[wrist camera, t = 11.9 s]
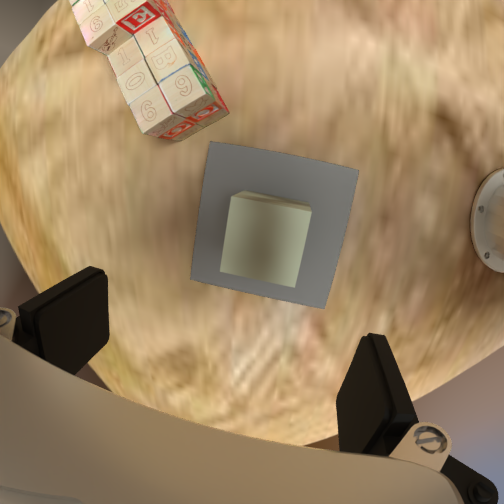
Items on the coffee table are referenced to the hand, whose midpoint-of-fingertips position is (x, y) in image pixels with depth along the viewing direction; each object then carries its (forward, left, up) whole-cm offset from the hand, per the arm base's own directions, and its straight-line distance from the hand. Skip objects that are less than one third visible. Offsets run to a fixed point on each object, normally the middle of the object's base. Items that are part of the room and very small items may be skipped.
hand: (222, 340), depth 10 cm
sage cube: (0, 0, -20) cm, 20 cm away
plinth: (0, 0, -23) cm, 23 cm away
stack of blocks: (+15, -17, -23) cm, 33 cm away
